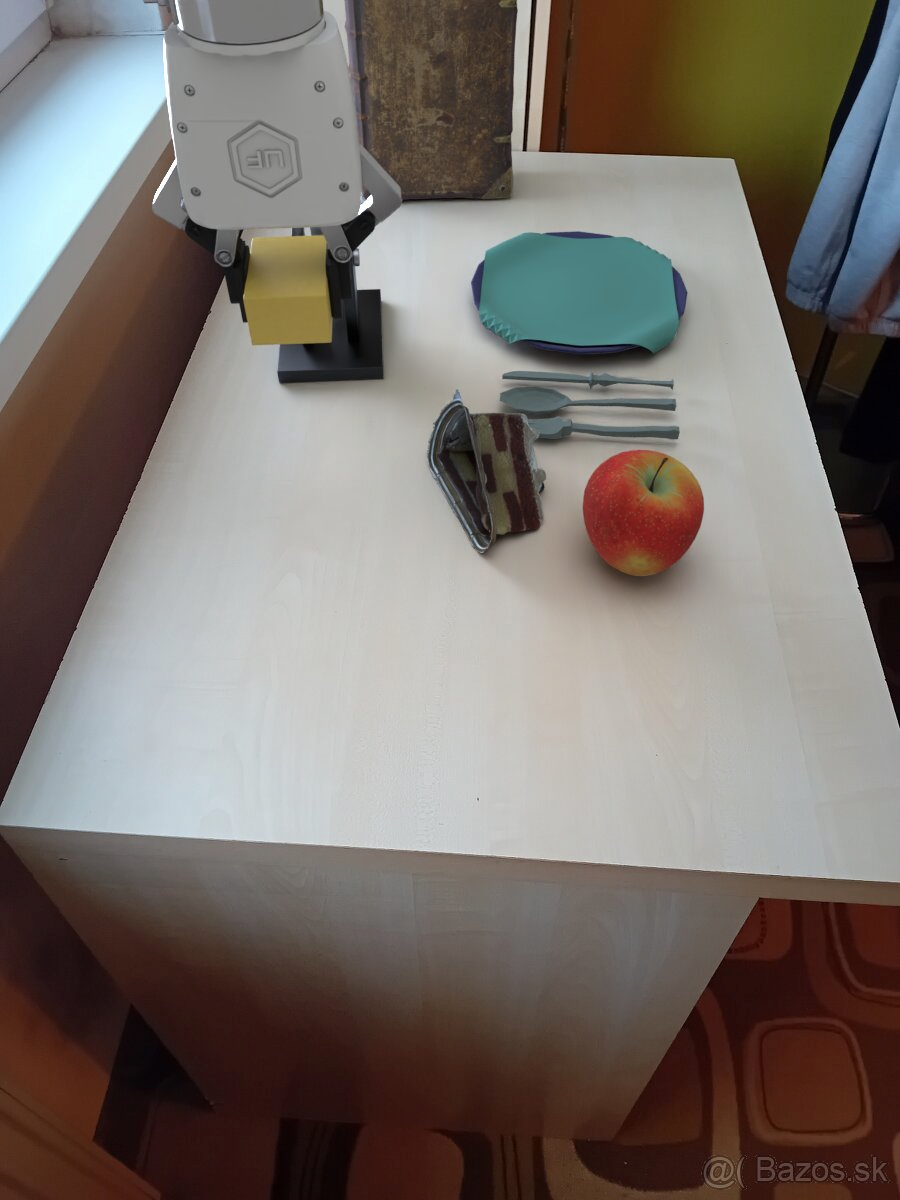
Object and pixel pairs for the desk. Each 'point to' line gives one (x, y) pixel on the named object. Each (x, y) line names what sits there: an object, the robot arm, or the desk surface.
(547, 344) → the cutlery set
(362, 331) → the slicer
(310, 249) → the butter
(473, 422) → the chocolate cake
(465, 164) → the book
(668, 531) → the apple
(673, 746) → the desk surface
